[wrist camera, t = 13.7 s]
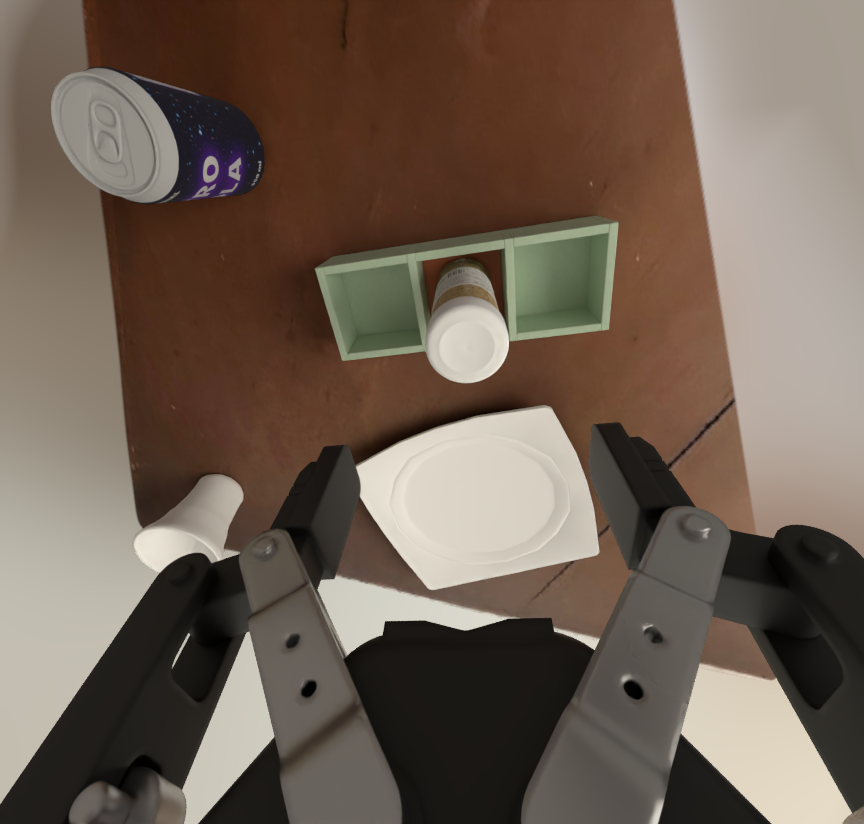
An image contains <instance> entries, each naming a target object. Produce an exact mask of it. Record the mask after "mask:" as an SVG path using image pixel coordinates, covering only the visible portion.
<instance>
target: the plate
mask: <svg viewBox="0 0 864 824" xmlns="http://www.w3.org/2000/svg"><path fill="white" fill-rule="evenodd" d="M355 466H356V469H357V472H358V475H359V478H360V484H361V492H360V498H361V499H362V501H363V502H364V504H365V506H366V507H367V509H368V511H369V512H370V514H371V515H372V517H373V518H374V520H375V521H376V523H377V524H378V526H379V527H380V528H381V530H382V531H383V533H384V534H385V536H386V537H387V538H388V540H389V541H390V542H391V543H392V545H393V546H394V547H395V549H396V550H397V551H398V553H399V554H400V555H401V556H402V558H403V559H404V560H405V561H406V562H407V564H408V565H409V566H410V567H411V568H412V570H413V571H414V572H415V573H416V574H417V576H418V577H419V578H420V579H421V580H422V582H423V583H424V584H425V585H426V586H427V588H428V589H431V590H436V589H440V588H445V587H450V586H454V585H459V584H464V583H468V582H473V581H478V580H482V579H487V578H492V577H497V576H502V575H507V574H512V573H517V572H521V571H526V570H530V569H535V568H539V567H544V566H549V565H553V564H558V563H563V562H568V561H572V560H577V559H582V558H587V557H591V556H596V555H597V554H598V553H599V546H598V538H597V530H596V522H595V514H594V507H593V503H592V499H591V495H590V492H589V488H588V484H587V480H586V478H585V475H584V472H583V470H582V467H581V464H580V462H579V459H578V456H577V454H576V452H575V450H574V448H573V446H572V444H571V442H570V441H569V439H568V437H567V435H566V433H565V431H564V430H563V428H562V426H561V424H560V422H559V421H558V419H557V417H556V415H555V413H554V411H553V410H552V408H551V407H549V406H546V405H542V406H536V407H529V408H523V409H516V410H510V411H503V412H497V413H491V414H484V415H478V416H473V417H470V418H466V419H463V420H459V421H455V422H452V423H448V424H445V425H441V426H438V427H435V428H432V429H429V430H427V431H424V432H422V433H419V434H417V435H414V436H412V437H409V438H406V439H404V440H401V441H399V442H397V443H395V444H393V445H392V446H390V447H388V448H386V449H384V450H382V451H381V452H379V453H377V454H375V455H373V456H371V457H369V458H368V459H366V460H364V461H362V462H360V463H358V464H357V465H355Z"/></svg>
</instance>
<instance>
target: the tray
mask: <svg viewBox="0 0 864 824" xmlns="http://www.w3.org/2000/svg"><path fill="white" fill-rule="evenodd" d="M617 233H618V222H616V221H613V220H610V219H607V218H604V217H601V216H598V215H596V216H590V217H583V218H577V219H570V220H564V221H558V222H551V223H545V224H538V225H532V226H525V227H519V228H513V229H506V230H500V231H493V232H487V233H481V234H474V235H468V236H461V237H455V238H448V239H442V240H436V241H429V242H423V243H416V244H410V245H403V246H397V247H391V248H384V249H378V250H371V251H365V252H358V253H352V254H346V255H339V256H333V257H331V258H330V259H328V260H327V261H325V262H324V263H322V264H321V265H319V266H318V267H316V268H315V271H316V274H317V278H318V281H319V284H320V288H321V291H322V294H323V298H324V301H325V305H326V308H327V311H328V315H329V318H330V321H331V325H332V328H333V331H334V335H335V338H336V341H337V345H338V348H339V352H340V355H341V358H342V361H345V360H354V359H363V358H371V357H380V356H388V355H397V354H405V353H414V352H422V351H426V348H425V340H426V332H427V327H428V324H429V321H430V319H431V317H432V308H433V302H434V297H435V292H436V288H437V280H438V278H439V275H440V272H441V271H442V270H443V268H444V267H445V266H446V265H447V264H448V263H450V262H452V261H454V260H457V259H459V258H470V259H474V260H476V261H478V262H480V263H481V264H482V265H483V266H484V267H485V268H486V269H487V271H488V273H489V276H490V279H491V285H492V288H493V291H494V295H495V299H496V302H497V306H498V310H499V312H500V313H501V315H502V317H503V319H504V321H505V324H506V328H507V332H508V337H509V341H516V340H525V339H533V338H542V337H550V336H559V335H567V334H576V333H584V332H593V331H600V330H608V329H609V320H610V309H611V298H612V288H613V277H614V266H615V255H616V244H617Z"/></svg>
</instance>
